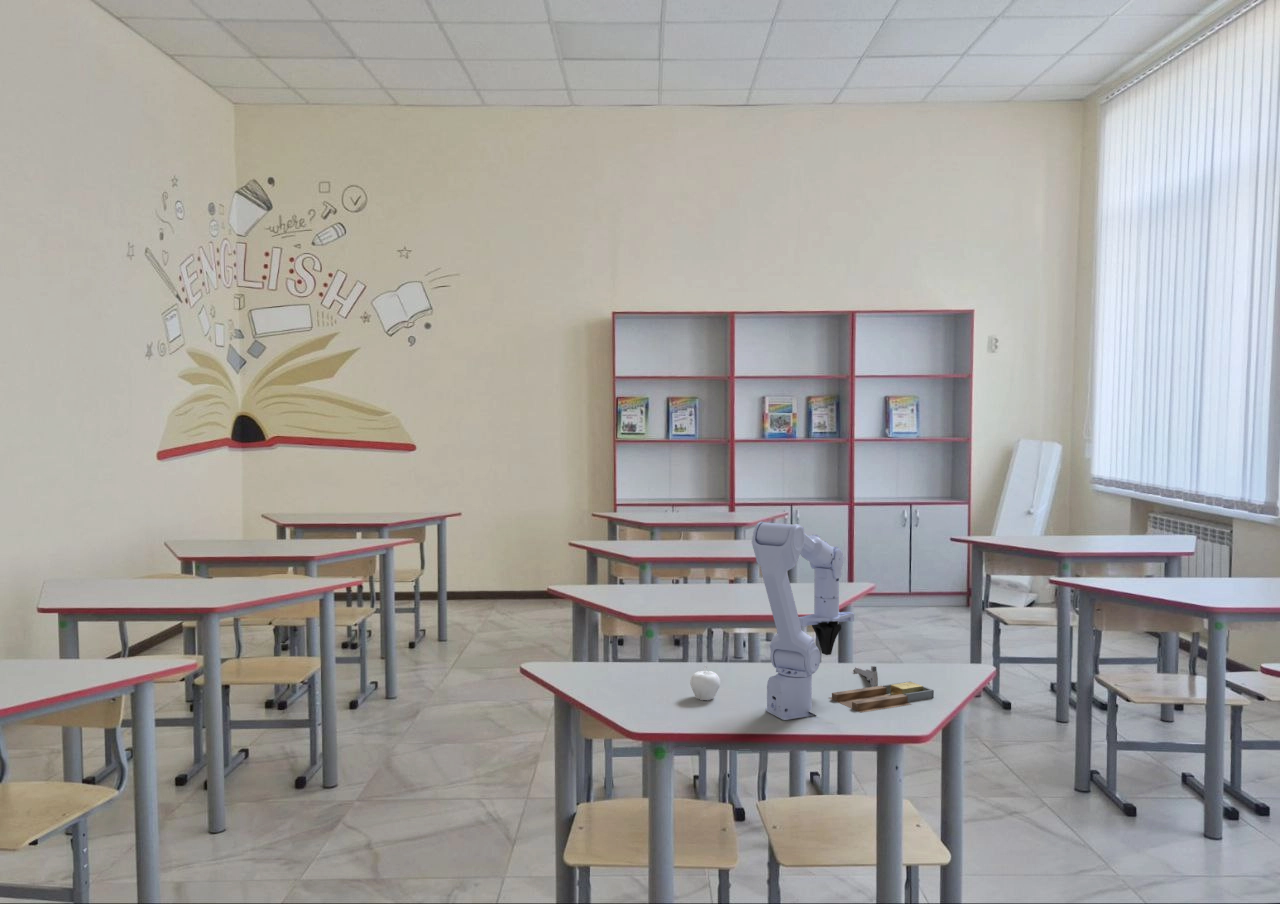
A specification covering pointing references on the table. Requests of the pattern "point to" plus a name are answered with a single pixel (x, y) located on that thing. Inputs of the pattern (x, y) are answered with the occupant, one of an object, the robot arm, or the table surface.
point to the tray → (915, 693)
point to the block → (905, 688)
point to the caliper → (869, 674)
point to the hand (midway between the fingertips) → (826, 653)
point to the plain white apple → (705, 684)
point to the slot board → (869, 699)
